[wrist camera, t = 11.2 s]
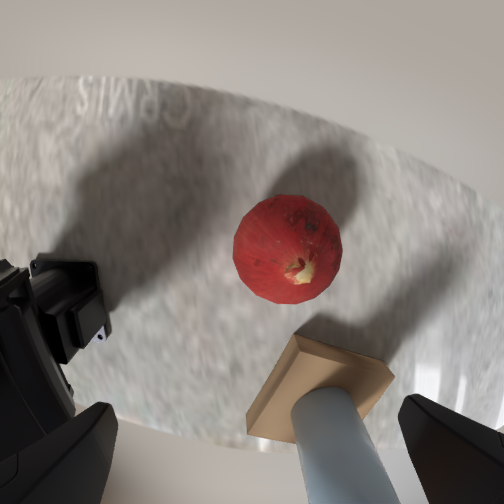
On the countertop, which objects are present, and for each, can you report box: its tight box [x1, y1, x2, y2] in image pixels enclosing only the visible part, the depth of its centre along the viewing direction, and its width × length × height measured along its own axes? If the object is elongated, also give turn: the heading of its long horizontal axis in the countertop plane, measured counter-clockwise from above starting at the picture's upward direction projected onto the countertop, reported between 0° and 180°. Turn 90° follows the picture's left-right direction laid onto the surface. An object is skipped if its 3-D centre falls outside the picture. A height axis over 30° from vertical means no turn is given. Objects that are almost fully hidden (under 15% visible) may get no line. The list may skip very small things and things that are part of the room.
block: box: [246, 334, 395, 444], centre depth 21 cm, size 9×9×2 cm
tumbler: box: [291, 387, 401, 504], centre depth 14 cm, size 5×5×13 cm
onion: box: [233, 194, 343, 304], centre depth 15 cm, size 6×6×8 cm
